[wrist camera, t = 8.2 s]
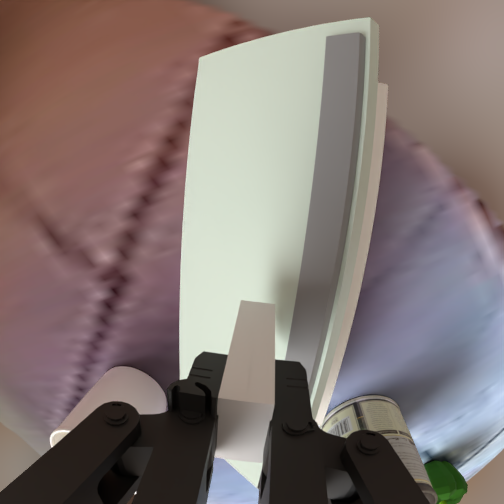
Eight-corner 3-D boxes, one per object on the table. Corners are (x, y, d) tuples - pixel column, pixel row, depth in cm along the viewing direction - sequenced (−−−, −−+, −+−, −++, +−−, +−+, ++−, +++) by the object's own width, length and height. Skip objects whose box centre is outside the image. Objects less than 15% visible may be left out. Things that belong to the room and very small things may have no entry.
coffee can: (379, 452, 34) (403, 535, 21) (307, 448, 34) (314, 542, 21) (415, 396, 31) (458, 484, 18) (336, 389, 31) (360, 496, 18)
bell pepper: (394, 483, 36) (408, 531, 27) (428, 451, 34) (449, 501, 25) (429, 484, 37) (444, 527, 27) (461, 454, 35) (483, 497, 25)
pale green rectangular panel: (188, 412, 26) (176, 417, 25) (209, 60, 18) (193, 55, 18) (286, 499, 18) (273, 509, 17) (379, 25, 10) (364, 11, 9)
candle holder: (87, 389, 34) (42, 452, 22) (116, 343, 32) (61, 413, 20) (151, 433, 35) (121, 503, 24) (189, 395, 33) (161, 478, 21)
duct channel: (201, 373, 32) (188, 411, 26) (223, 82, 24) (209, 60, 18) (315, 386, 31) (321, 425, 26) (364, 100, 24) (388, 84, 18)
